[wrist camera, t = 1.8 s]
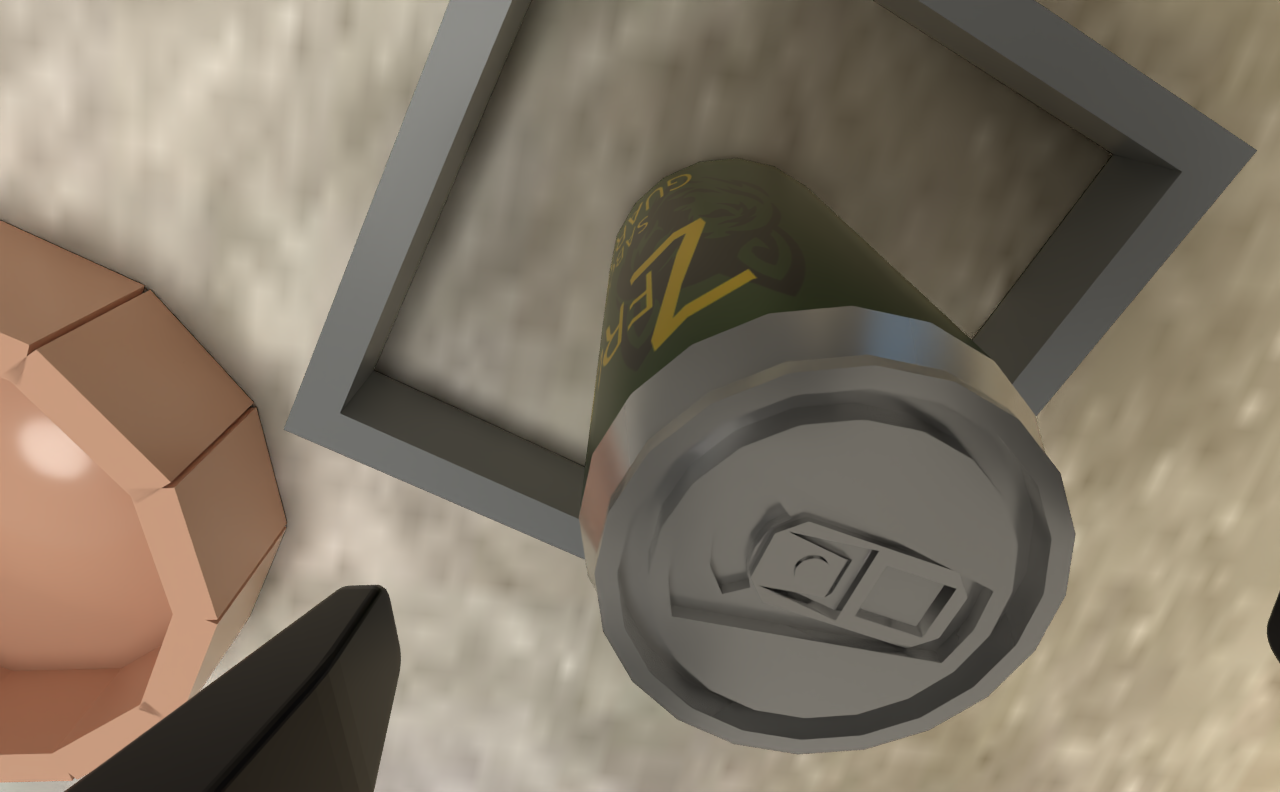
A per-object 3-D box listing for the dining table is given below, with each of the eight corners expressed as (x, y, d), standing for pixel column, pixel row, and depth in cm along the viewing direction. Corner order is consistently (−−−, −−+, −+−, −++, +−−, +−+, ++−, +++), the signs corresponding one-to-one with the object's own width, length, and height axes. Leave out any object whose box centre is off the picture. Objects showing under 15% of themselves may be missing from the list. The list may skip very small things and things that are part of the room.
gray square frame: (1178, 135, 18) (1257, 150, 15) (811, 603, 23) (829, 664, 21) (581, -260, 15) (570, -313, 12) (323, 385, 20) (283, 429, 18)
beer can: (873, 204, 18) (1213, 454, 8) (774, 399, 20) (928, 815, 10) (660, 116, 18) (694, 253, 7) (580, 328, 20) (505, 695, 9)
